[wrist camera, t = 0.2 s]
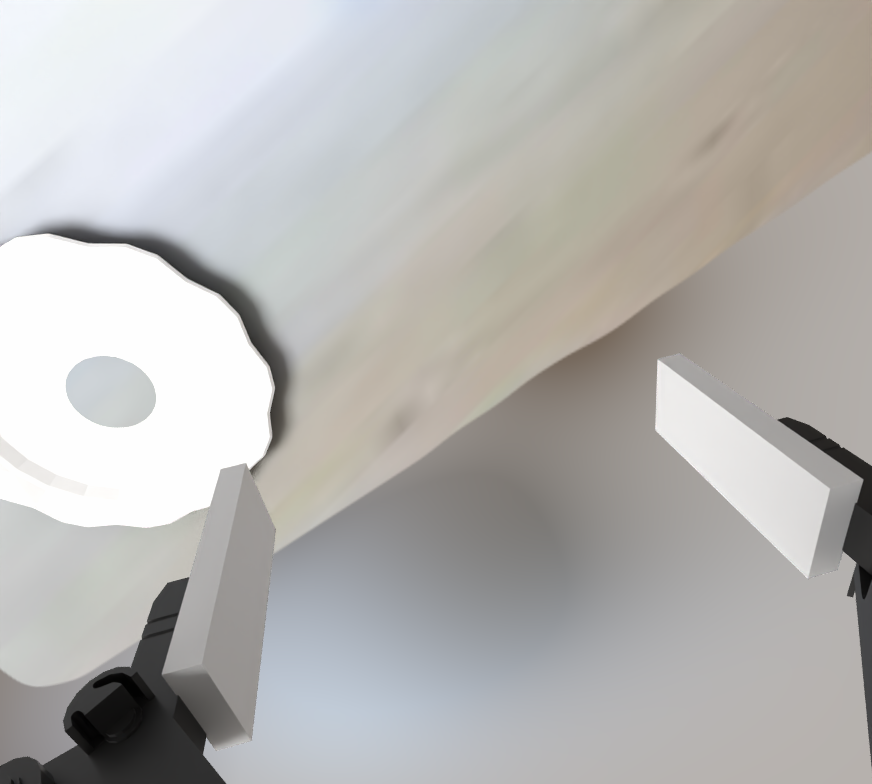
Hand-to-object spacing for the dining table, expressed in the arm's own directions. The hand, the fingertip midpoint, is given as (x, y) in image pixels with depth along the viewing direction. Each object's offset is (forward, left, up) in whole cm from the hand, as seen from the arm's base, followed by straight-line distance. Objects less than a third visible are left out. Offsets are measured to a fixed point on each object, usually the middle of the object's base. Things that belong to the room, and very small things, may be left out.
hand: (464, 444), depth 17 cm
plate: (+6, -24, -28) cm, 37 cm away
